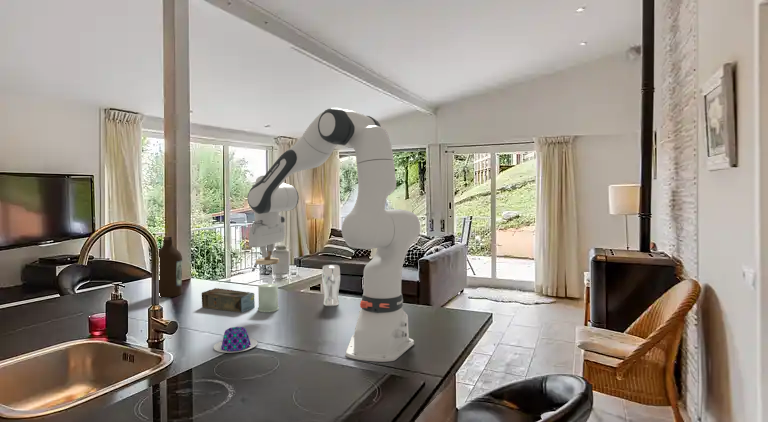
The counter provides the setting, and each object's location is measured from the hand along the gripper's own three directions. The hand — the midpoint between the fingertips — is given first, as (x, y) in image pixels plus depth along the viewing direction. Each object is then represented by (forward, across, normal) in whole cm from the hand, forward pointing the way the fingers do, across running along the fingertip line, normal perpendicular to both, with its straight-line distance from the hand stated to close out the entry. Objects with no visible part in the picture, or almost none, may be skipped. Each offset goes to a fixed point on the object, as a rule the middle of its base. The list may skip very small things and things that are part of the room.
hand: (267, 256), depth 165 cm
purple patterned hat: (+20, -37, -10) cm, 43 cm away
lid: (+2, 0, 0) cm, 2 cm away
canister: (+20, 0, 0) cm, 20 cm away
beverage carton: (+20, -1, +16) cm, 26 cm away
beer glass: (+20, +13, -20) cm, 31 cm away
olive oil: (+20, +10, +52) cm, 57 cm away
